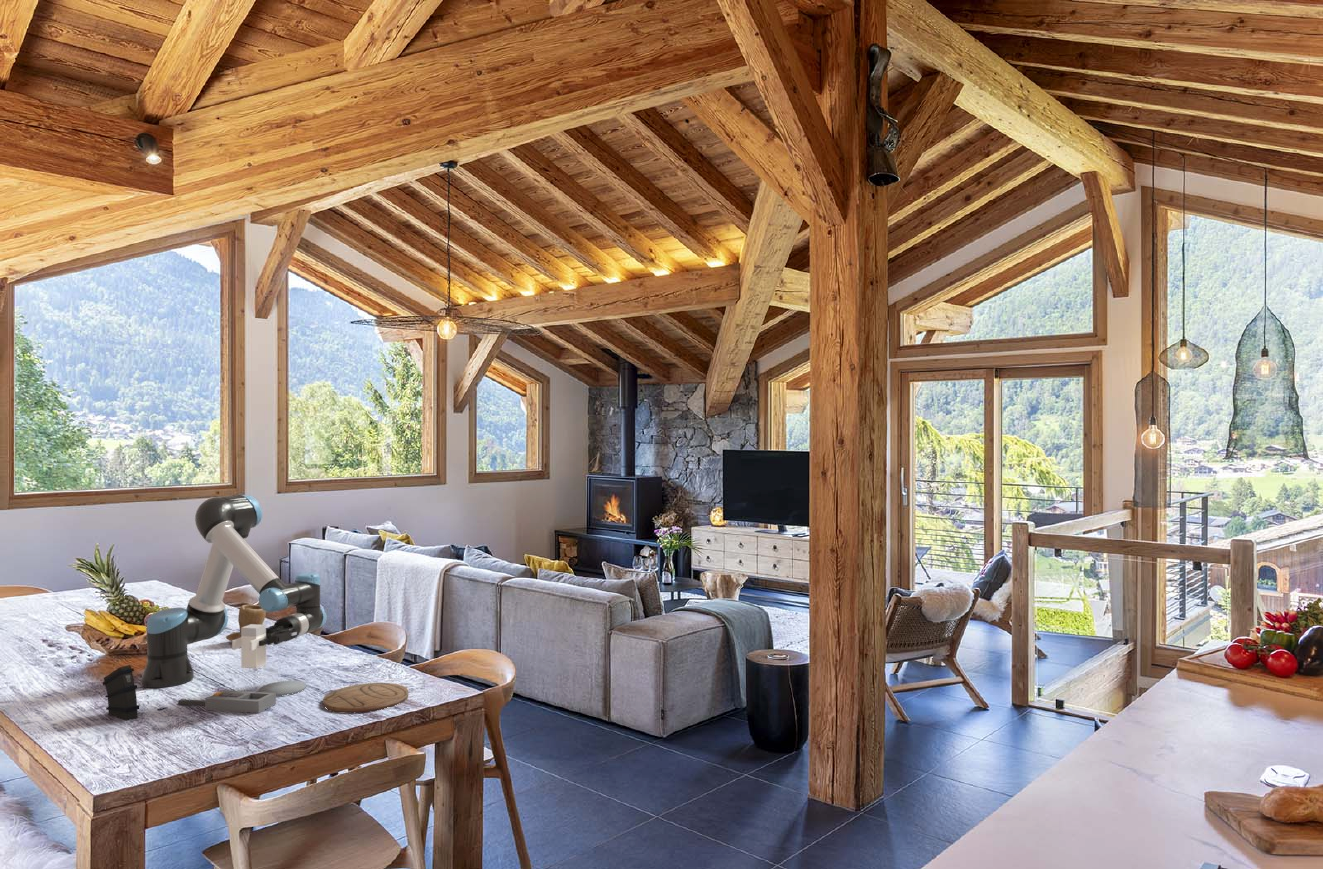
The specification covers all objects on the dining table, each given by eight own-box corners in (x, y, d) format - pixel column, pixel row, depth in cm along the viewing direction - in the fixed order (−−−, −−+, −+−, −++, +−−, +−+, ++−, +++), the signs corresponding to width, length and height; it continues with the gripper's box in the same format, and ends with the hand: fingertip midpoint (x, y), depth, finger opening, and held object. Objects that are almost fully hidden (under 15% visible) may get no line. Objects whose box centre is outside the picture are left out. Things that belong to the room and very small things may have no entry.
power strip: (170, 707, 258) (170, 694, 258) (189, 699, 266) (189, 686, 266) (258, 713, 252) (258, 699, 252) (275, 704, 260) (275, 691, 260)
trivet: (347, 720, 246) (347, 713, 246) (308, 702, 263) (308, 696, 263) (423, 699, 265) (423, 693, 265) (382, 683, 282) (382, 678, 282)
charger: (241, 667, 255) (241, 627, 255) (251, 663, 259) (251, 624, 259) (256, 668, 254) (256, 628, 254) (266, 664, 259) (265, 624, 258)
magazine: (131, 717, 244) (119, 667, 248) (110, 729, 251) (98, 680, 254) (144, 713, 248) (132, 664, 251) (124, 725, 254) (112, 677, 257)
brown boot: (271, 643, 336) (270, 605, 336) (239, 649, 327) (238, 610, 327) (256, 637, 346) (255, 600, 346) (225, 642, 338) (224, 604, 338)
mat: (250, 691, 274) (250, 688, 274) (293, 681, 284) (293, 678, 284) (270, 699, 265) (270, 696, 265) (314, 689, 275) (314, 686, 275)
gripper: (315, 640, 273) (269, 659, 250) (265, 637, 276) (214, 656, 253) (315, 616, 273) (269, 634, 250) (265, 614, 276) (214, 631, 253)
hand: (241, 645), depth 252 cm, fingers closed on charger, 5 cm apart
